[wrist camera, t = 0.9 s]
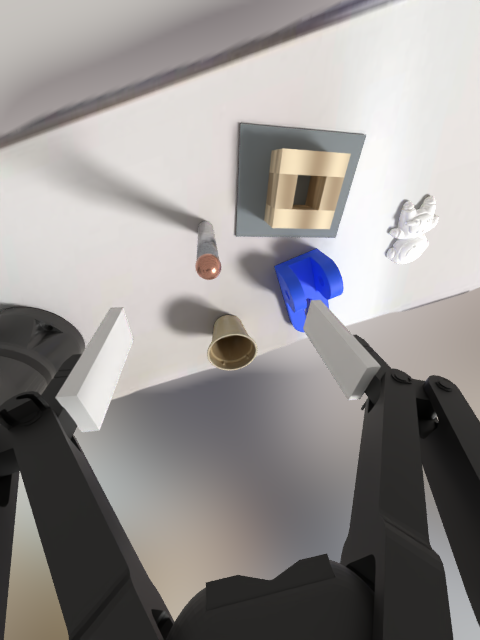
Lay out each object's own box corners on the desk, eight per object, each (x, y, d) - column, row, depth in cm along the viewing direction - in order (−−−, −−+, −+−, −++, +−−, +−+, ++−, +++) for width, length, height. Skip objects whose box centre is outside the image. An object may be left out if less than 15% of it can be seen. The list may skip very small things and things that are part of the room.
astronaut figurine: (443, 192, 37) (460, 194, 35) (418, 258, 44) (430, 264, 42) (395, 201, 37) (409, 203, 34) (377, 266, 44) (388, 272, 41)
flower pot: (220, 300, 43) (224, 326, 36) (257, 318, 47) (267, 345, 40) (198, 332, 47) (198, 361, 40) (234, 346, 51) (239, 375, 44)
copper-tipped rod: (198, 237, 35) (196, 284, 21) (197, 220, 34) (194, 258, 20) (213, 237, 35) (222, 283, 22) (213, 220, 34) (222, 258, 20)
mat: (236, 235, 36) (236, 236, 36) (240, 123, 28) (240, 123, 27) (334, 237, 38) (335, 237, 38) (365, 135, 30) (366, 135, 30)
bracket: (274, 265, 40) (289, 287, 33) (316, 248, 39) (341, 266, 32) (293, 331, 51) (308, 358, 44) (326, 318, 50) (347, 344, 43)
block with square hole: (264, 220, 35) (272, 228, 31) (271, 150, 30) (282, 148, 26) (315, 222, 36) (329, 229, 32) (331, 155, 31) (350, 153, 27)
